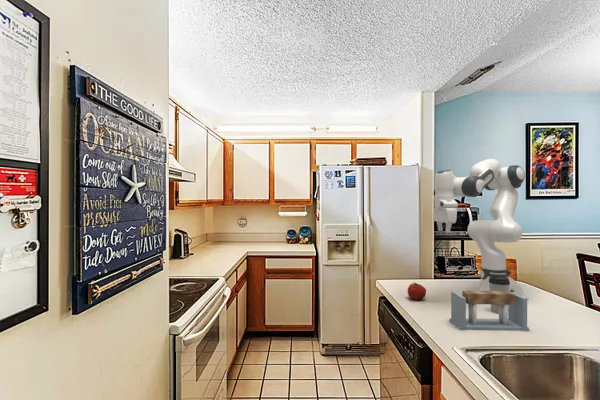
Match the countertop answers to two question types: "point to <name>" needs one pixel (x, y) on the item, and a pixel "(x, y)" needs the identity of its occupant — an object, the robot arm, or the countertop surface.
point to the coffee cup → (498, 287)
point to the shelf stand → (508, 319)
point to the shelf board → (489, 297)
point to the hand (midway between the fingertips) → (444, 231)
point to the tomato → (416, 291)
